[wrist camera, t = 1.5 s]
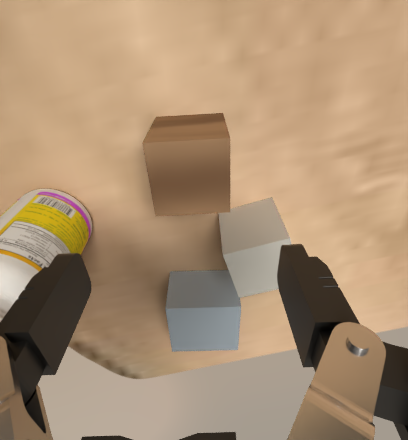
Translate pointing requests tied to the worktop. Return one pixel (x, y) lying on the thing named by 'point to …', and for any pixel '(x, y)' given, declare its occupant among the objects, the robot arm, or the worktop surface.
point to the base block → (203, 311)
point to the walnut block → (189, 164)
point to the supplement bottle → (38, 238)
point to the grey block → (253, 245)
